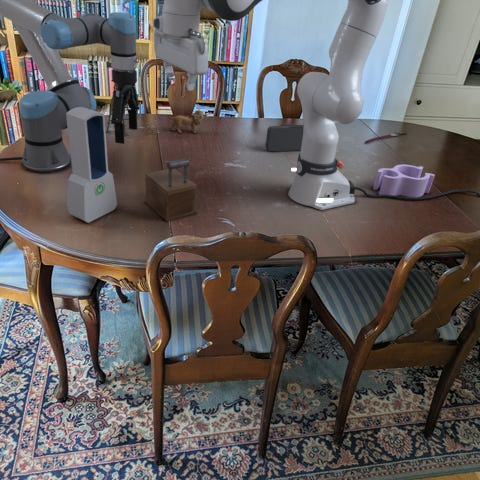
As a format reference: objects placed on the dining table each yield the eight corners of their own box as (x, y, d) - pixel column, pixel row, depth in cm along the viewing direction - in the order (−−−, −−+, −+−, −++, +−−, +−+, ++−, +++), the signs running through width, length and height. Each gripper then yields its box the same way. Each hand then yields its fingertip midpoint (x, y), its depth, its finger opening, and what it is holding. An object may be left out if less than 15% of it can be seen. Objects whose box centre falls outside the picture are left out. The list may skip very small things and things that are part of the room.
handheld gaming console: (315, 147, 196) (319, 124, 190) (317, 149, 194) (322, 126, 188) (264, 149, 189) (267, 125, 183) (266, 152, 187) (269, 127, 181)
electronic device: (85, 224, 129) (74, 119, 113) (67, 215, 132) (53, 112, 116) (118, 208, 139) (112, 108, 122) (99, 200, 142) (92, 102, 125)
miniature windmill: (125, 135, 188) (121, 57, 171) (105, 132, 189) (100, 54, 172) (134, 128, 195) (131, 52, 179) (115, 125, 196) (110, 49, 180)
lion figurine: (200, 128, 202) (201, 108, 197) (204, 133, 198) (205, 112, 193) (167, 129, 197) (167, 108, 192) (170, 134, 193) (170, 113, 188)
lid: (196, 188, 136) (197, 160, 131) (167, 195, 130) (167, 167, 126) (173, 171, 144) (173, 144, 139) (145, 176, 139) (144, 149, 134)
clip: (386, 199, 160) (391, 181, 156) (367, 183, 170) (371, 166, 166) (433, 195, 166) (439, 178, 163) (412, 180, 176) (417, 163, 172)
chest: (194, 213, 141) (195, 187, 136) (166, 221, 135) (166, 194, 131) (173, 195, 149) (173, 171, 144) (146, 202, 144) (145, 177, 139)
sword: (403, 131, 224) (404, 129, 223) (408, 133, 222) (409, 131, 221) (360, 143, 208) (360, 140, 207) (365, 145, 206) (366, 142, 205)
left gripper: (122, 80, 132) (125, 151, 143) (147, 62, 153) (148, 124, 164) (96, 77, 132) (101, 147, 144) (125, 59, 153) (127, 122, 165)
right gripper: (216, 34, 106) (212, 94, 114) (171, 18, 120) (170, 73, 127) (192, 34, 103) (190, 97, 110) (149, 18, 116) (149, 75, 124)
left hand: (126, 135), depth 154 cm, fingers open, 13 cm apart
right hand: (179, 84), depth 119 cm, fingers open, 8 cm apart
